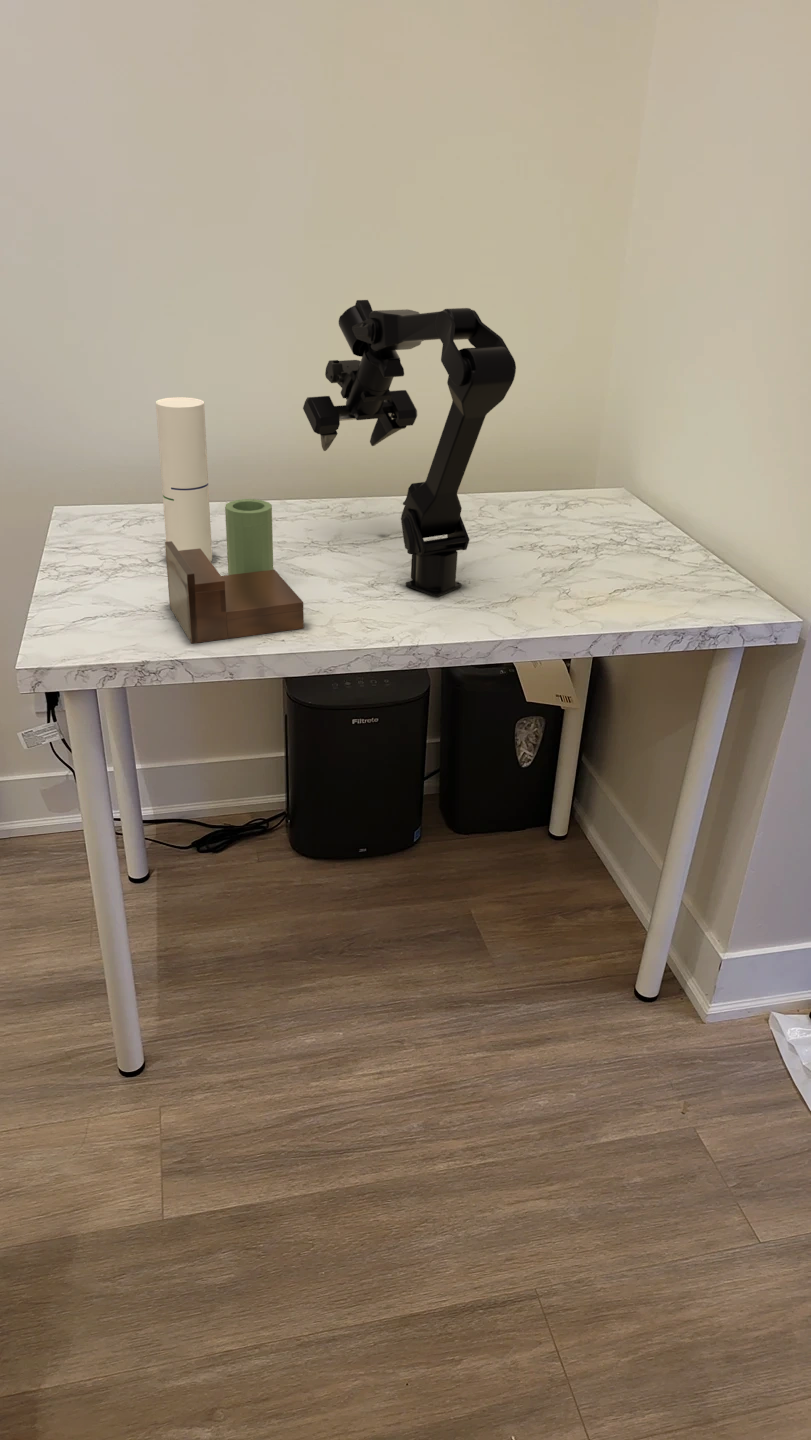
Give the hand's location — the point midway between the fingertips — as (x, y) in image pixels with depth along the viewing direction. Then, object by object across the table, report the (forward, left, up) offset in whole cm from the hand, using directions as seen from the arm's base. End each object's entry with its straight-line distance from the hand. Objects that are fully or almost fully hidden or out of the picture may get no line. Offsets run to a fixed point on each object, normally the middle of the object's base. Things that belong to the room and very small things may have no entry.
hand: (347, 446), depth 177 cm
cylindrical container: (+7, +30, -15) cm, 34 cm away
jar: (-8, +30, -15) cm, 34 cm away
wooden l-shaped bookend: (-16, +40, -15) cm, 46 cm away
